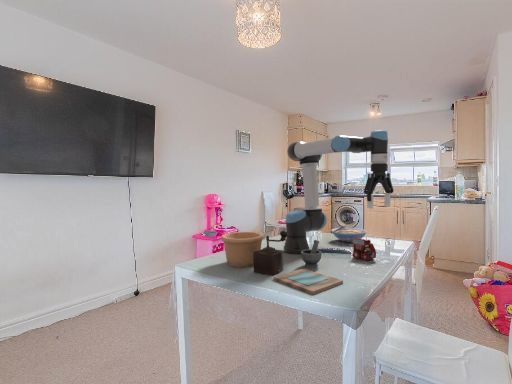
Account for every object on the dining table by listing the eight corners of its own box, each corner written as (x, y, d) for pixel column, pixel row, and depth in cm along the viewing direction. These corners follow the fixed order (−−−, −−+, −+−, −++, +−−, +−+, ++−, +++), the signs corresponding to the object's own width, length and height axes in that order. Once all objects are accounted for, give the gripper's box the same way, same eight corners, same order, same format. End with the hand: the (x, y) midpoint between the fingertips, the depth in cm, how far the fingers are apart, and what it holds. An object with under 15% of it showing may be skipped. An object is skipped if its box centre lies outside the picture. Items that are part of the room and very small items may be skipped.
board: (273, 279, 127) (273, 276, 127) (302, 271, 138) (302, 268, 138) (313, 294, 110) (313, 290, 110) (343, 283, 121) (343, 279, 121)
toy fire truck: (372, 262, 150) (371, 241, 149) (349, 258, 159) (349, 238, 158) (378, 259, 154) (378, 239, 154) (356, 255, 164) (356, 236, 163)
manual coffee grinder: (273, 276, 132) (272, 235, 131) (252, 272, 138) (252, 233, 137) (290, 267, 144) (289, 230, 144) (270, 264, 151) (270, 228, 150)
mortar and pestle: (314, 270, 139) (313, 244, 139) (297, 266, 146) (297, 241, 145) (326, 264, 147) (326, 240, 147) (310, 261, 154) (309, 238, 153)
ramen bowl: (361, 246, 184) (361, 233, 184) (326, 243, 197) (325, 230, 196) (371, 239, 205) (371, 227, 205) (338, 236, 217) (337, 225, 217)
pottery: (217, 260, 161) (216, 233, 160) (256, 255, 168) (255, 230, 168) (227, 271, 140) (226, 241, 140) (271, 265, 148) (270, 236, 147)
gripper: (369, 162, 134) (369, 209, 135) (401, 163, 148) (401, 206, 149) (355, 163, 140) (355, 208, 141) (387, 163, 154) (387, 205, 155)
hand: (379, 207), depth 145 cm, fingers open, 13 cm apart
